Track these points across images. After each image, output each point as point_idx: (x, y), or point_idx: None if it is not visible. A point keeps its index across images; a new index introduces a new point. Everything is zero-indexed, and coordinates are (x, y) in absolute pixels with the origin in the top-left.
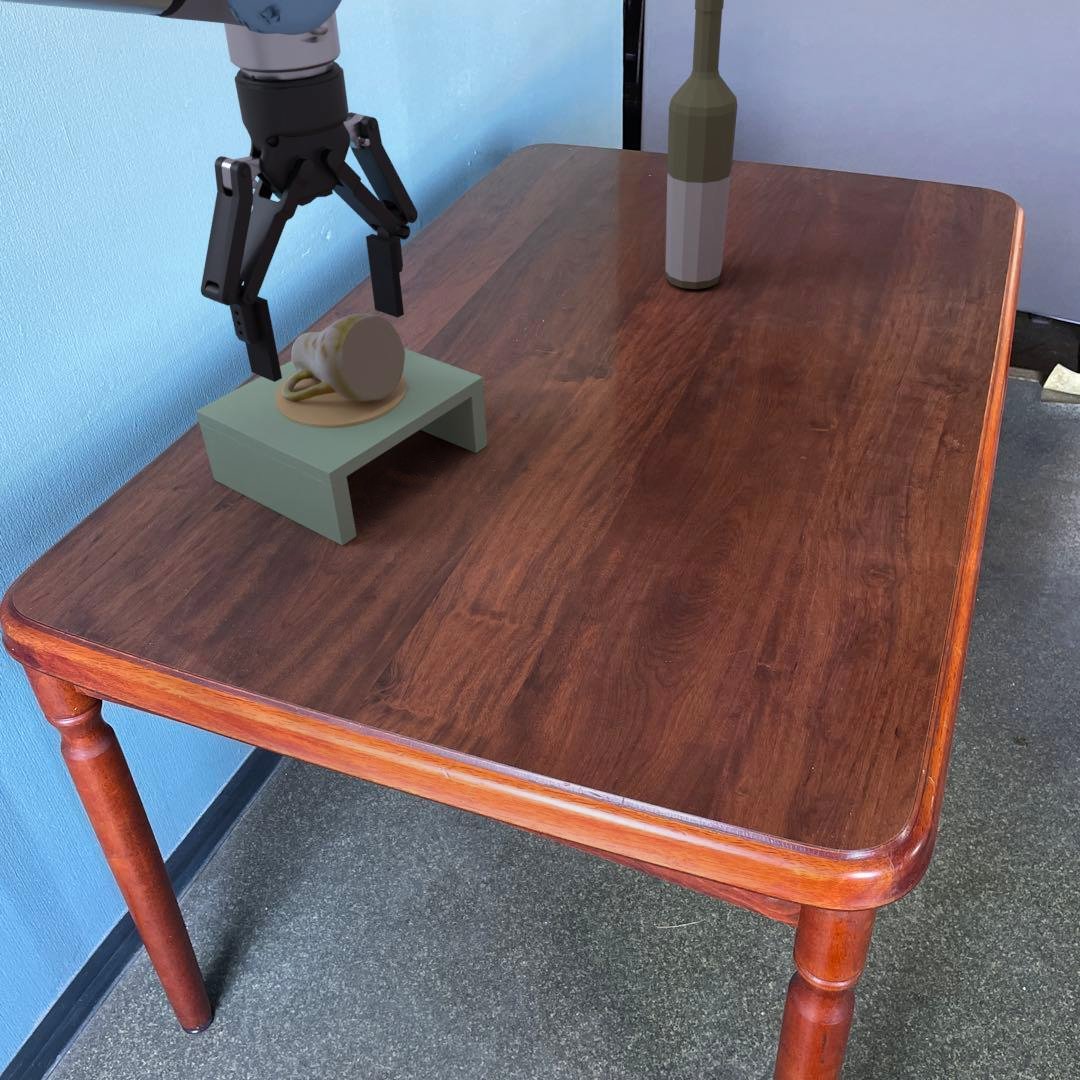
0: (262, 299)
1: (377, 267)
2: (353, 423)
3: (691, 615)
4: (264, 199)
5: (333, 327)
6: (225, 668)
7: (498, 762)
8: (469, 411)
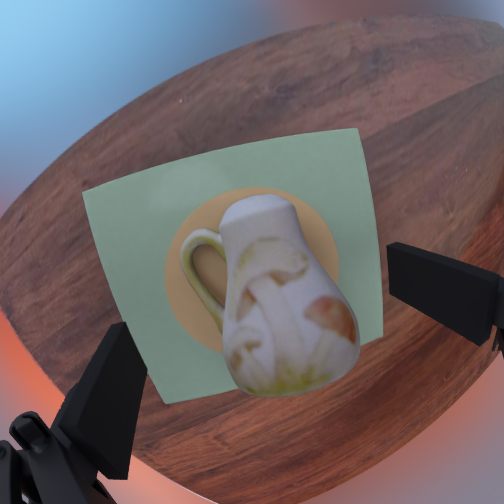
0: (117, 474)
1: (443, 285)
2: None
3: (298, 465)
4: None
5: (274, 362)
6: None
7: (176, 482)
8: None
